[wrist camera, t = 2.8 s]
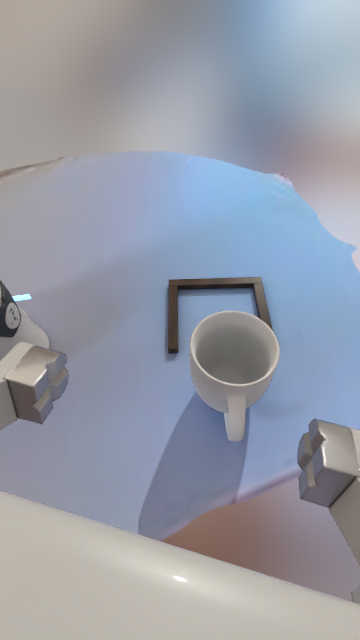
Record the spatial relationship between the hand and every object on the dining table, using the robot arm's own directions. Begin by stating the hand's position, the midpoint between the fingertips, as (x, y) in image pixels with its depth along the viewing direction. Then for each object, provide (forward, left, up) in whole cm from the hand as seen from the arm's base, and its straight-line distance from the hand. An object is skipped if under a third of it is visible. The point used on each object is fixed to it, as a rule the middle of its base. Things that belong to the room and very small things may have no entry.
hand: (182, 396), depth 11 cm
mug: (+6, +16, -37) cm, 41 cm away
